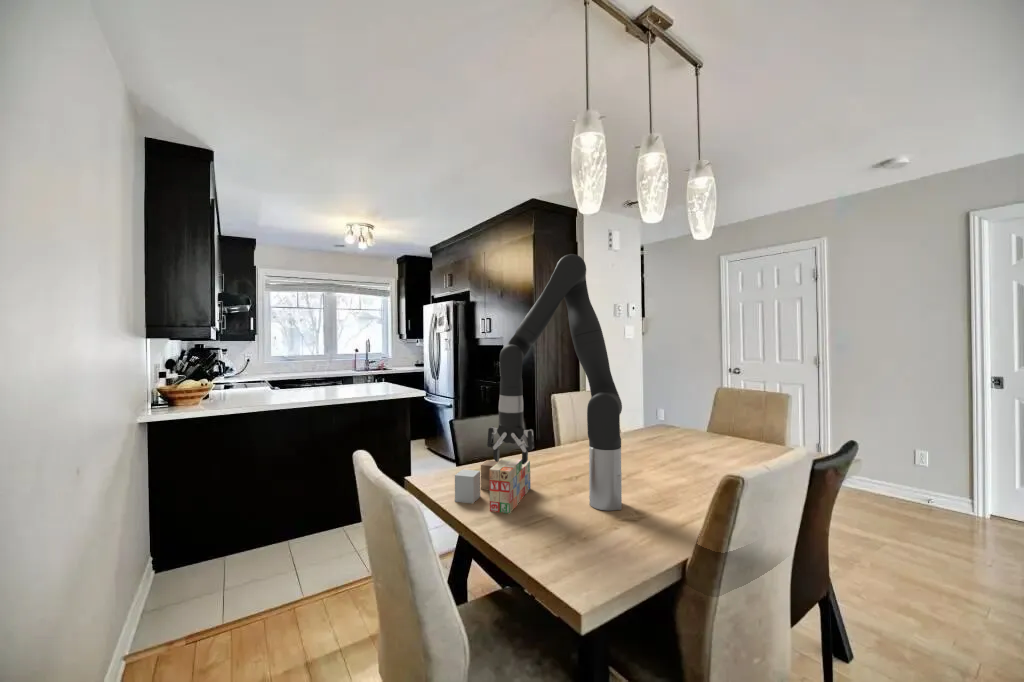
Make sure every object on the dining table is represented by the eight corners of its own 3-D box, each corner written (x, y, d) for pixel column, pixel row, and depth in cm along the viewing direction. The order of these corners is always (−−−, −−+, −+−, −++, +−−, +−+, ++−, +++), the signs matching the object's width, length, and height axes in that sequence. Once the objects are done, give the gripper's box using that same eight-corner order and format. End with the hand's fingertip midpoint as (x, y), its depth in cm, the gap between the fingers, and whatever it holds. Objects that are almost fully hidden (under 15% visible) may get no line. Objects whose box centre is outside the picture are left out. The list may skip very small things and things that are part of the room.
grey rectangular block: (480, 496, 130) (480, 470, 130) (473, 503, 125) (473, 476, 125) (462, 494, 132) (462, 469, 132) (454, 501, 126) (454, 475, 126)
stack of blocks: (512, 487, 139) (512, 450, 139) (530, 489, 137) (530, 451, 137) (489, 511, 119) (489, 468, 119) (510, 514, 117) (510, 470, 117)
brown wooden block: (503, 485, 141) (503, 461, 141) (498, 491, 135) (498, 466, 135) (486, 483, 142) (486, 460, 142) (480, 489, 137) (480, 465, 137)
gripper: (536, 409, 130) (535, 461, 130) (492, 406, 133) (492, 457, 134) (530, 413, 122) (530, 468, 122) (484, 410, 126) (484, 463, 126)
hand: (510, 462), depth 128 cm, fingers open, 8 cm apart
